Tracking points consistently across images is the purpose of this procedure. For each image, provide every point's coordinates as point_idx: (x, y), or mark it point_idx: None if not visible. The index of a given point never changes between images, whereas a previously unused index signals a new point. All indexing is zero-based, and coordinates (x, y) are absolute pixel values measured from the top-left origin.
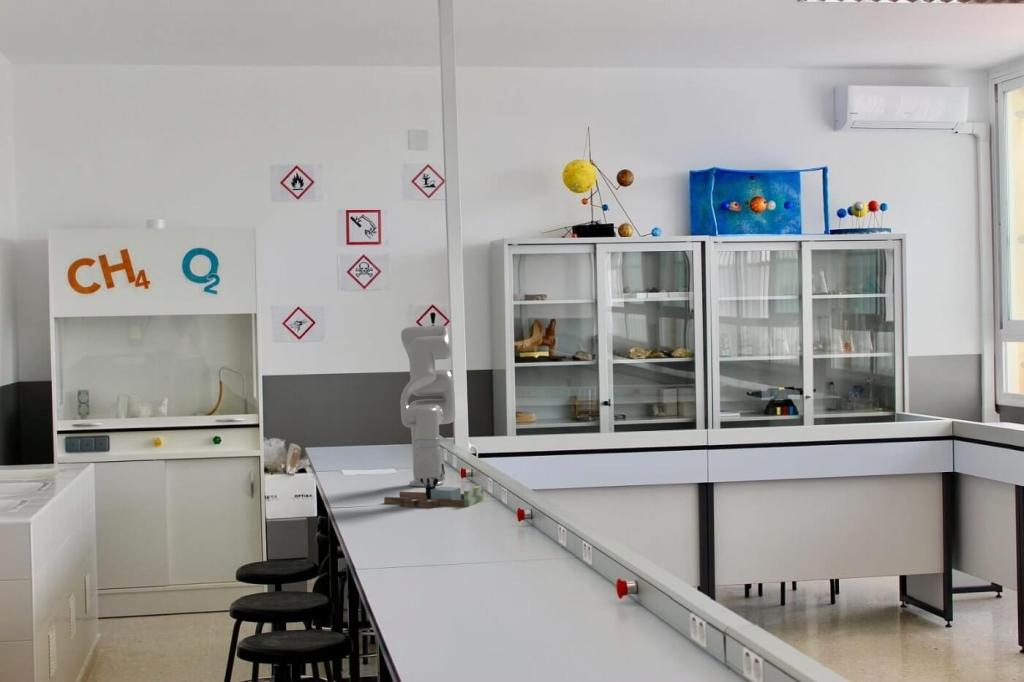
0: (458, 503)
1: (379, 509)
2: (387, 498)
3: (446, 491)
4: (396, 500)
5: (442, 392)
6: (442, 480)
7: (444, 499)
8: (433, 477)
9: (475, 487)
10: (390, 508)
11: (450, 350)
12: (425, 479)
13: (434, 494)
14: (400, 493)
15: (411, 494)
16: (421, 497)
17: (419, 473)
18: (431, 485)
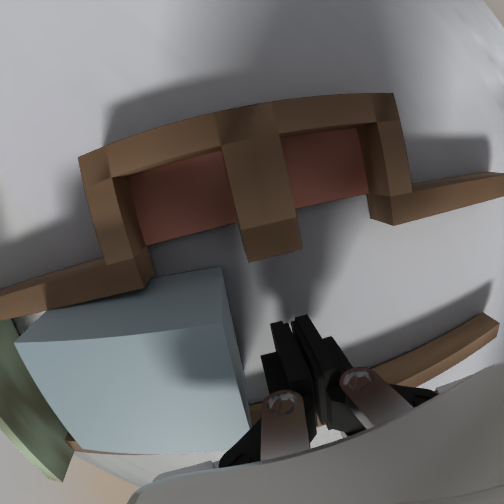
0: (9, 288)
1: (415, 30)
2: (496, 175)
3: (49, 337)
4: (456, 180)
5: None
6: (162, 476)
7: (75, 284)
8: (208, 472)
9: (18, 443)
10: (391, 58)
11: None
12: (380, 423)
13: (178, 306)
14: (492, 323)
15: (451, 346)
16: (397, 363)
17: (487, 419)
18: (284, 402)
